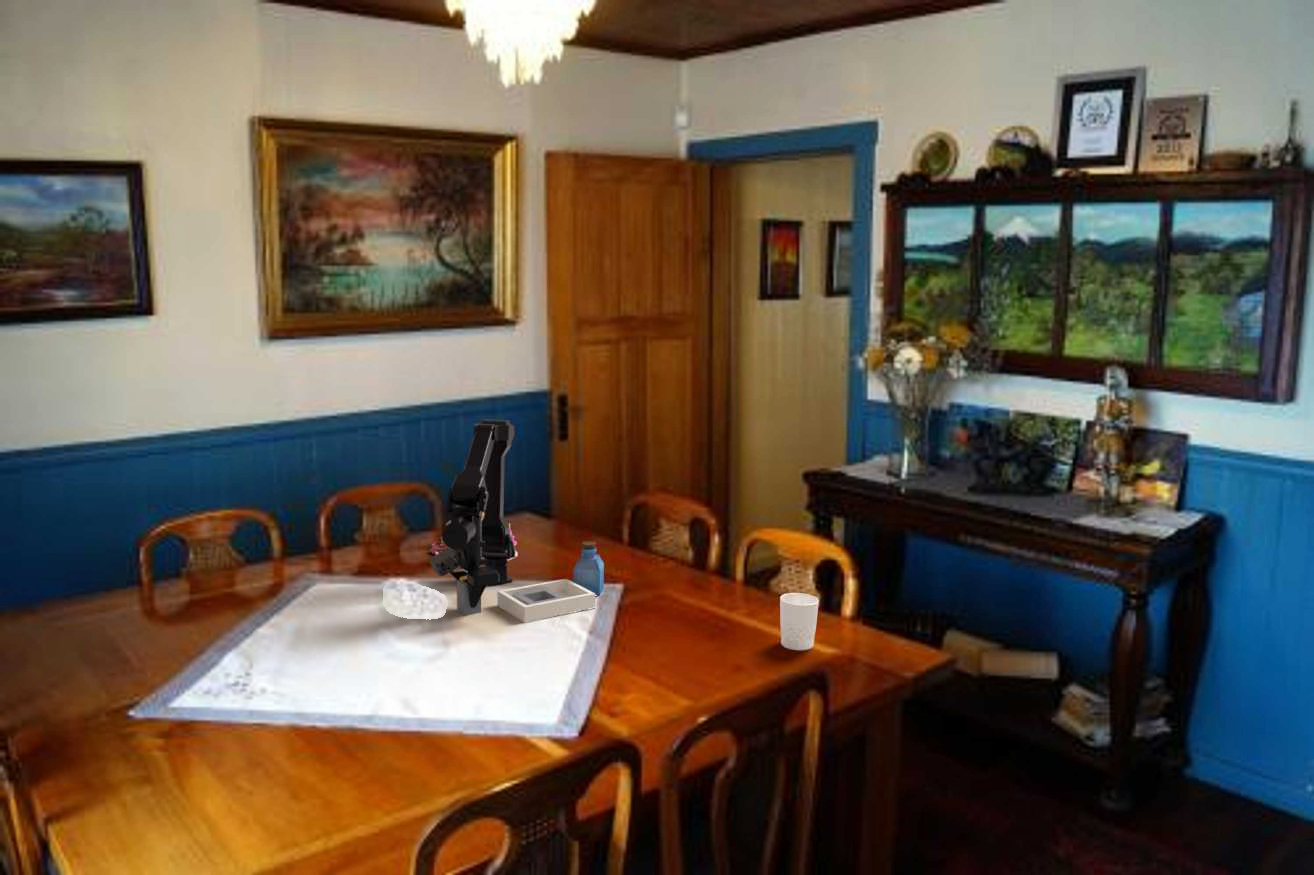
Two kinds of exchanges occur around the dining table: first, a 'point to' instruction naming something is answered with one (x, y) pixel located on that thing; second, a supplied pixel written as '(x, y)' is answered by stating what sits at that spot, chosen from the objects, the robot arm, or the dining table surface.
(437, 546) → the food platter
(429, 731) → the dining table surface
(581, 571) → the perfume bottle
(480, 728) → the dining table surface
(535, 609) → the box
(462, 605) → the plug
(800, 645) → the white cup
